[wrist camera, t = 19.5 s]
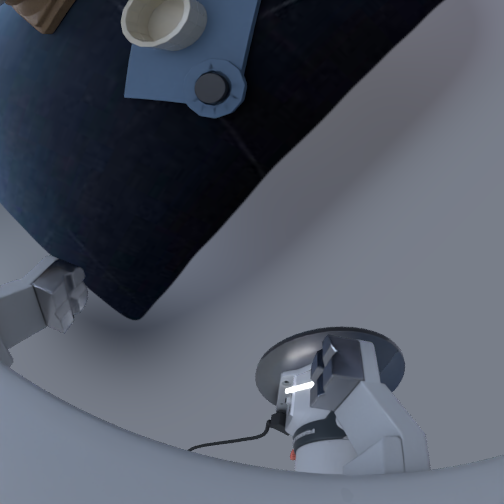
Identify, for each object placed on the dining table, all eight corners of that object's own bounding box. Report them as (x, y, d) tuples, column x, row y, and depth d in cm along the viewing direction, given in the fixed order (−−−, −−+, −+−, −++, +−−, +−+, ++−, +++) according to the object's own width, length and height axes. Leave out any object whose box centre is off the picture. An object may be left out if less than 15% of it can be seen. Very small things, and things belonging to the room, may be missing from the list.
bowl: (200, 53, 23) (181, 48, 19) (141, 50, 23) (115, 47, 19) (213, -4, 20) (197, -20, 16) (153, -4, 20) (129, -15, 16)
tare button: (225, 104, 25) (222, 105, 24) (196, 100, 25) (192, 100, 24) (231, 76, 23) (228, 75, 22) (201, 72, 23) (197, 71, 22)
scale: (243, 119, 28) (237, 122, 25) (131, 103, 28) (116, 106, 26) (271, -5, 21) (268, -14, 18) (152, -10, 21) (138, -17, 18)
